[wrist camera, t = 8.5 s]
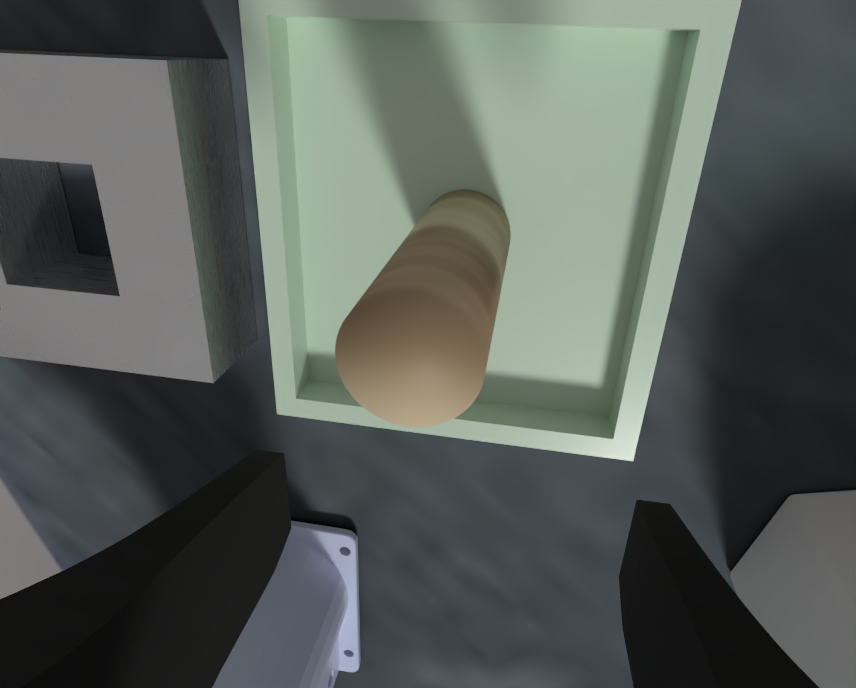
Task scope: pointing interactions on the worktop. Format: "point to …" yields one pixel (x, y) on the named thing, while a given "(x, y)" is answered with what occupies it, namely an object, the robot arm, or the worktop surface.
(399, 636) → the worktop surface
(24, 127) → the socket block
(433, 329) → the pin
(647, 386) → the tray
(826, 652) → the jar
